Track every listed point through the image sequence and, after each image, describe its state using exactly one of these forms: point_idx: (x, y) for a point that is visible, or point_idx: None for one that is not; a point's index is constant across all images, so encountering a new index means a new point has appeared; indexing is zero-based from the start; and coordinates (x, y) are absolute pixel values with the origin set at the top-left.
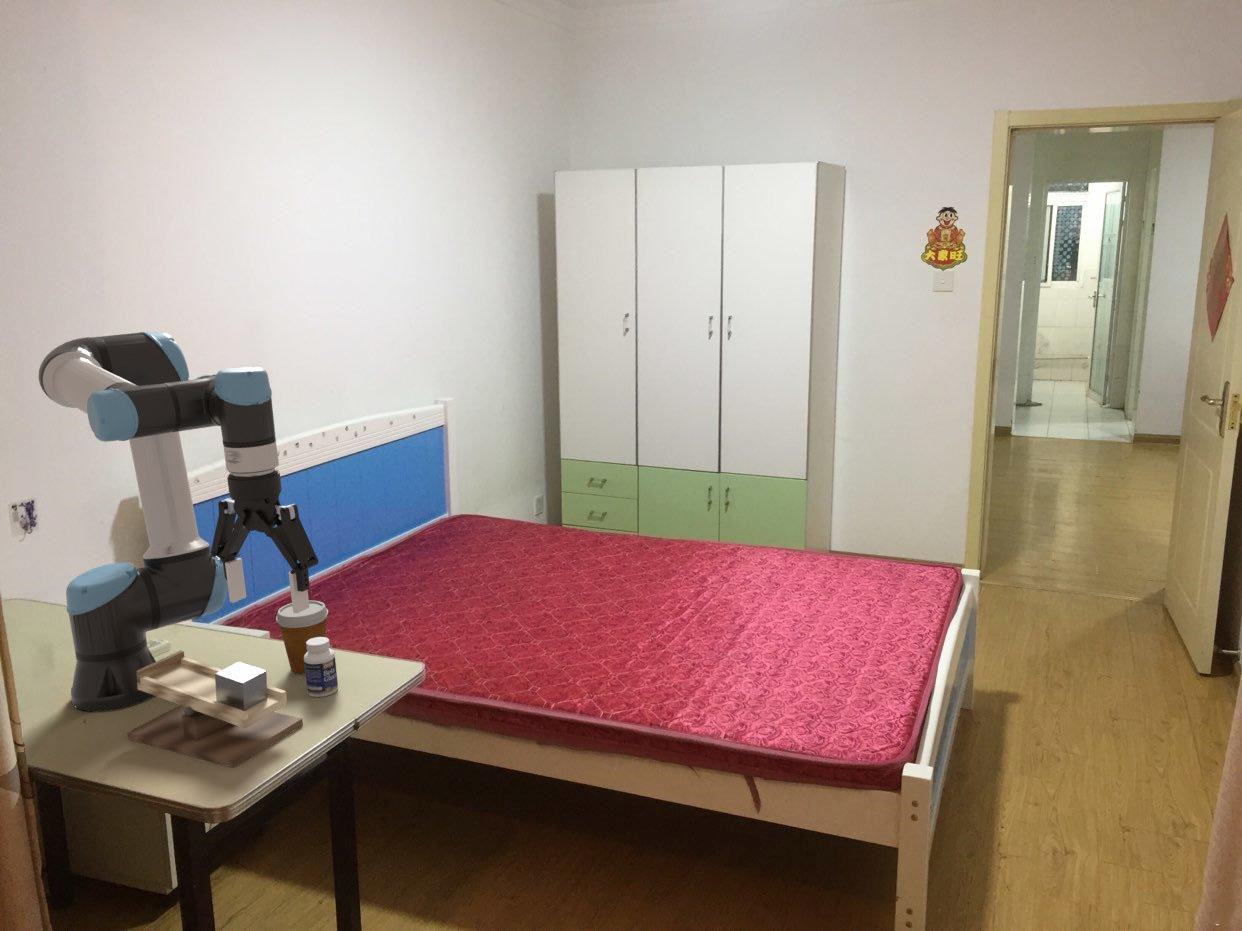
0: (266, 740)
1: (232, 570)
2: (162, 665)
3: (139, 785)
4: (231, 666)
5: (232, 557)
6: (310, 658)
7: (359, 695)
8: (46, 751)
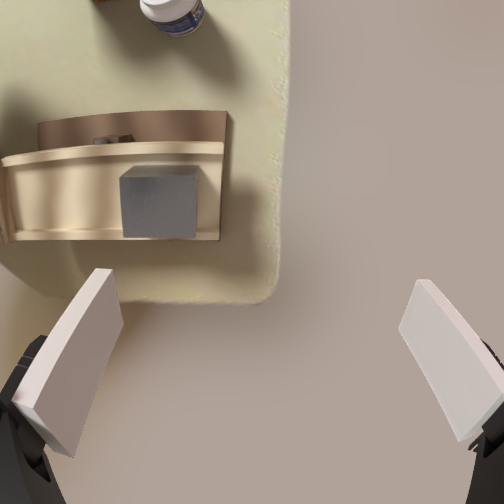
0: (221, 183)
1: (78, 414)
2: (4, 202)
3: (150, 296)
4: (124, 200)
5: (28, 438)
6: (166, 16)
7: (249, 9)
8: (21, 274)
